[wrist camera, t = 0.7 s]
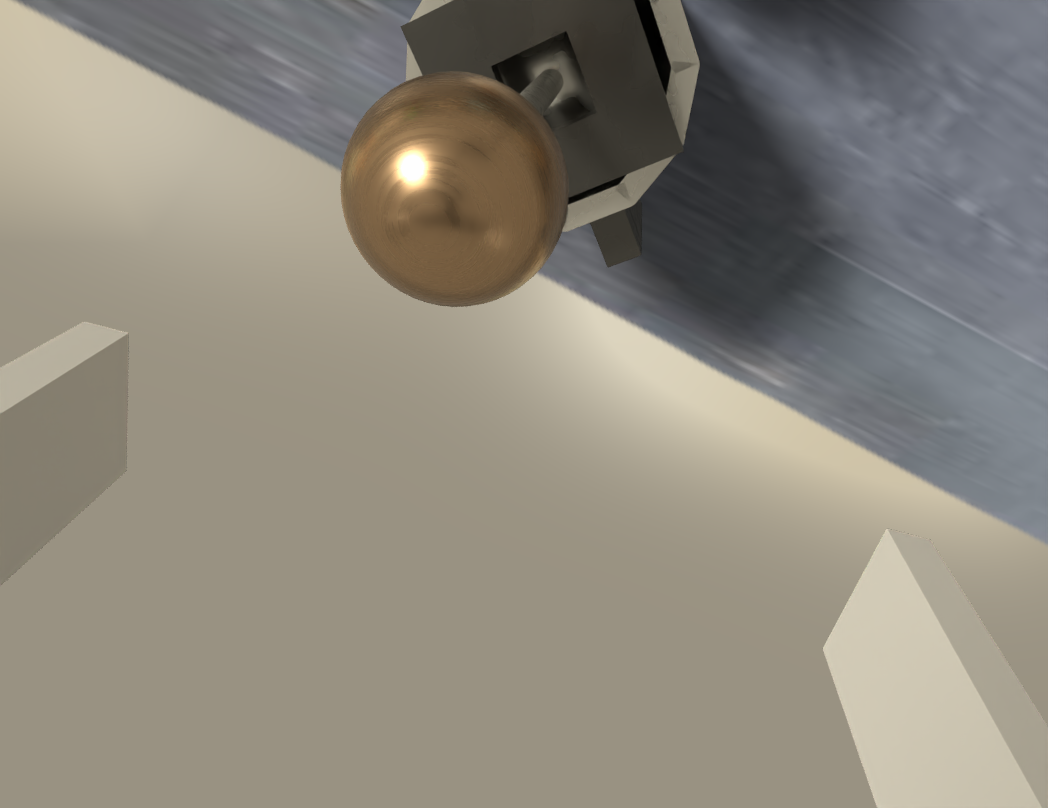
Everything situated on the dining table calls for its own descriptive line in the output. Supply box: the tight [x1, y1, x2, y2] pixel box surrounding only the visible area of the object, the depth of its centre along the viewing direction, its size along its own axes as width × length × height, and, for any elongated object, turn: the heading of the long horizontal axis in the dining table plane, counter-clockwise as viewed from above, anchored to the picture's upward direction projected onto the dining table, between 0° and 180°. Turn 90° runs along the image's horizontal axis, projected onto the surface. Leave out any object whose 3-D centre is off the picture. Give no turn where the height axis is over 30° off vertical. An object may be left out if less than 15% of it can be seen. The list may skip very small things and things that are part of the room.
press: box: [401, 0, 700, 267], centre depth 37 cm, size 11×14×17 cm
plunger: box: [341, 27, 650, 307], centre depth 23 cm, size 8×8×21 cm
